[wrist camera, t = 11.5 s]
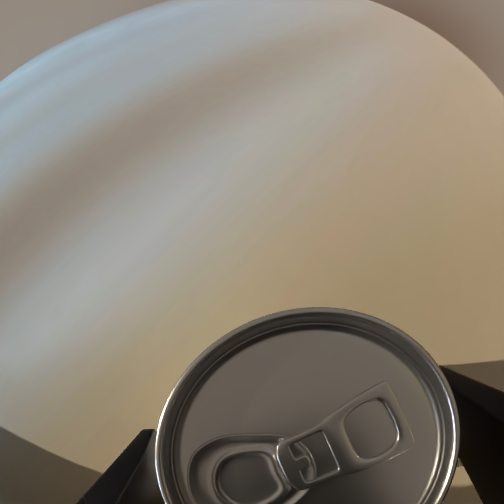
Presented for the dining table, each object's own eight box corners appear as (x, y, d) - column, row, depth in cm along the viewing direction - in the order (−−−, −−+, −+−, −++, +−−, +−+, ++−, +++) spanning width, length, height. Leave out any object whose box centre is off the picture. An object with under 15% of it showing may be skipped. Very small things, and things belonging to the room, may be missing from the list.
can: (214, 390, 16) (93, 355, 6) (324, 345, 17) (391, 234, 6) (258, 494, 13) (213, 624, 3) (371, 446, 14) (509, 493, 3)
